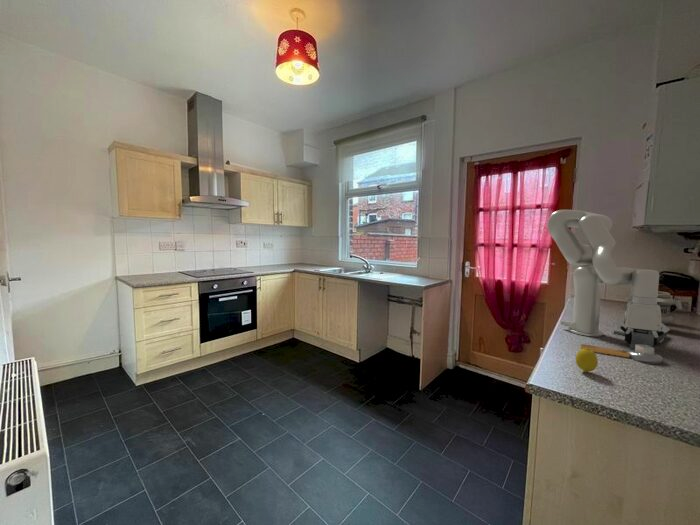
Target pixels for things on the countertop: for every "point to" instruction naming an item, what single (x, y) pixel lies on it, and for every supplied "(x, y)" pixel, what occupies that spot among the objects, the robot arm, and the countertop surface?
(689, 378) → the countertop surface
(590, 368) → the lemon
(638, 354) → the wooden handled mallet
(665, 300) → the apothecary jar
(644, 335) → the socket
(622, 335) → the door handle
